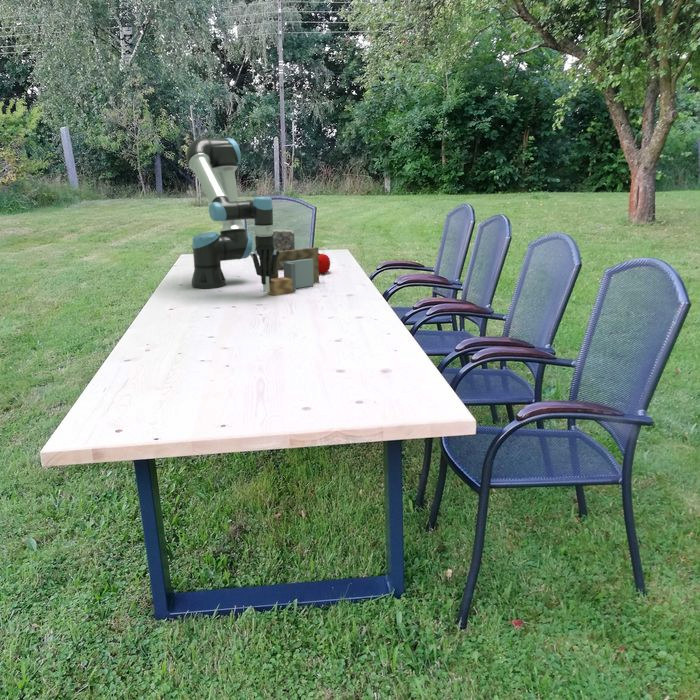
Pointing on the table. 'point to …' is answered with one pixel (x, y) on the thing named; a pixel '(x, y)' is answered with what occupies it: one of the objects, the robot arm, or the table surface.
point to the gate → (299, 273)
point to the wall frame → (300, 255)
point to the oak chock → (280, 286)
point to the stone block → (283, 243)
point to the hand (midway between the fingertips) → (266, 291)
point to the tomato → (323, 263)
